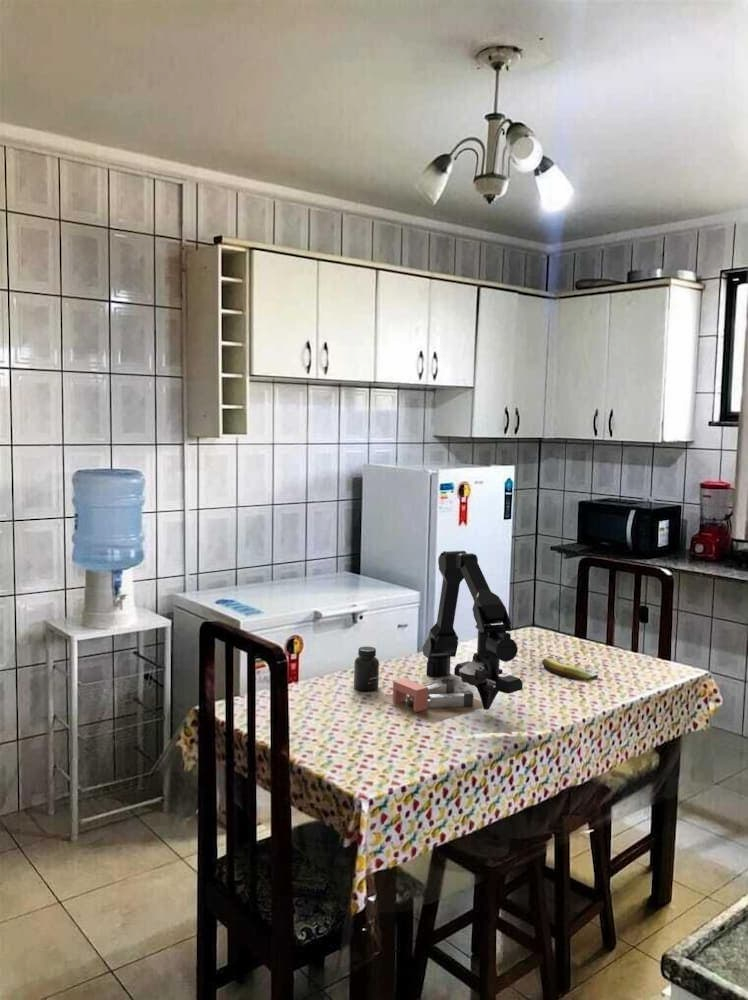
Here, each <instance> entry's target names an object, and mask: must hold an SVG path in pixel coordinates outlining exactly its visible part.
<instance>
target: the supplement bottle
mask: <svg viewBox="0 0 748 1000" xmlns="http://www.w3.org/2000/svg"><path fill="white" fill-rule="evenodd" d="M376 649H377V648H375V647H373V646H360V647H358V653H357V655H358V656H357V657H356V658H355V659H354V668H353V671H354V672H353V690H355V691H356V692H359V693H374V692H377V691H378V690H379V680H380V679H379V677H380V676H379V674H380V672H379V671H380V670H379V669H380V661H379V658H377V653H376V651H377V650H376Z"/></svg>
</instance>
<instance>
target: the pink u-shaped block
mask: <svg viewBox="0 0 748 1000" xmlns="http://www.w3.org/2000/svg"><path fill="white" fill-rule="evenodd" d="M392 683H393V685H392V694H393V702H394V703H398V702H401V701H405V700H407V694H408V695H410V696H413V697H414V707H413V711H415V712H418V711H421V710H425V709H427V708H428V687H426V686H424V684H421V683H418V682H416V681H413V680H411V679H407V678H406V677H403V678H401V679H396V680H393V681H392Z"/></svg>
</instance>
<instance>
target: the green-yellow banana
mask: <svg viewBox="0 0 748 1000" xmlns="http://www.w3.org/2000/svg"><path fill="white" fill-rule="evenodd" d="M546 654H547V653H546ZM546 654H544V655H546ZM542 655H543V654H540V656H542ZM550 655H551V656H553V655H554V656H555V654H550ZM555 657H556V658H559V656H558V655H556V656H555ZM553 659H554V658H553V657H551V658H545V659H544V660H541V662H542V665H543V669H544V670H545V669H546V670H545V671H546V672H549V673H550V674H551V673H552V674H553V675H556V676H557V675H558V676H560V677H563V678H568V679H571V680H583V681H585V680H597V679H598V677H599V675H598V674H595V675H590V674H589V673H588V672H587V671H586V670H584V669H582V668H579V667H577V666H573V665H568V664H564V663H560V662H557V661H555V660H553ZM561 687H562V689H571V690H573V688H569V687H566V686H561ZM574 690H576V691H578V689H577V688H574ZM580 691H583V690H582V689H580Z"/></svg>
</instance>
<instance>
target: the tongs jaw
mask: <svg viewBox="0 0 748 1000" xmlns="http://www.w3.org/2000/svg"><path fill="white" fill-rule="evenodd" d="M473 698H474V693H473V691H472V690H471V689H469V690H467V689H465V690H461V692H459V693H455V694H431V695H428V707H430V708H441V707H467V706H473Z"/></svg>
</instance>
